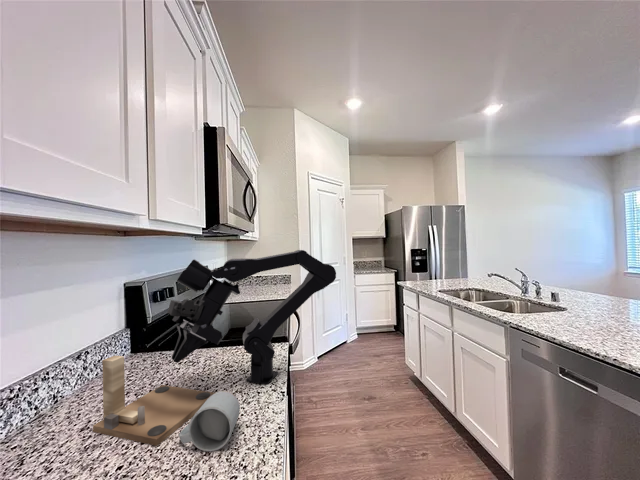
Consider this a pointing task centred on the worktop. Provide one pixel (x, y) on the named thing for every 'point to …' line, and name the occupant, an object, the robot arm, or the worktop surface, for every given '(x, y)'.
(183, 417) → the stool seat
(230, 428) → the ceramic mug
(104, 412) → the hinged leg
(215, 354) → the worktop surface
